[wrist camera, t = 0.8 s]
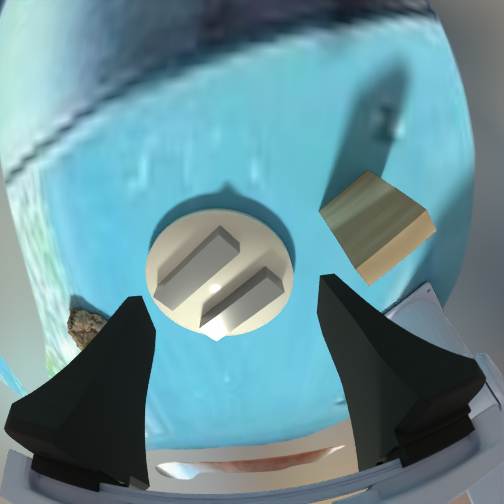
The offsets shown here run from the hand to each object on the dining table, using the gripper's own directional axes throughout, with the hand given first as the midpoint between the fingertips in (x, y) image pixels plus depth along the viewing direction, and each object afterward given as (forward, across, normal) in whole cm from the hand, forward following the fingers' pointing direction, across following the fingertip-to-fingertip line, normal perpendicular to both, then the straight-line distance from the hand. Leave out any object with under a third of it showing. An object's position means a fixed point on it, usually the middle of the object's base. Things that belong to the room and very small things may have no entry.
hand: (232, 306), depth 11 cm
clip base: (+11, +2, +6) cm, 12 cm away
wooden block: (+10, -9, 0) cm, 14 cm away
